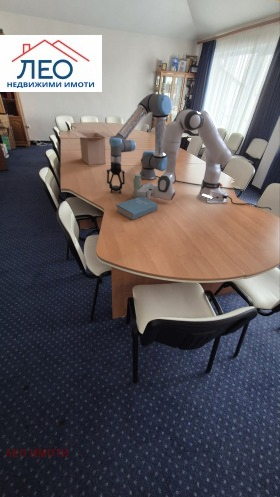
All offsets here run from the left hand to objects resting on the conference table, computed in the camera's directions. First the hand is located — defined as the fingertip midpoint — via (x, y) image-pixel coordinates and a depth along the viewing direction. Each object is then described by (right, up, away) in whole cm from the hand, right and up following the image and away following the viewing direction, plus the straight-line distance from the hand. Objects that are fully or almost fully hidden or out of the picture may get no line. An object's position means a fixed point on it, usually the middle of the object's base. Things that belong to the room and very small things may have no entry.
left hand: (115, 192), depth 172 cm
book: (+17, -19, -23) cm, 34 cm away
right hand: (+16, +2, -6) cm, 17 cm away
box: (-31, +50, +64) cm, 87 cm away
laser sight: (+31, +48, +68) cm, 89 cm away
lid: (0, +3, -3) cm, 4 cm away
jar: (+16, -3, -3) cm, 17 cm away
